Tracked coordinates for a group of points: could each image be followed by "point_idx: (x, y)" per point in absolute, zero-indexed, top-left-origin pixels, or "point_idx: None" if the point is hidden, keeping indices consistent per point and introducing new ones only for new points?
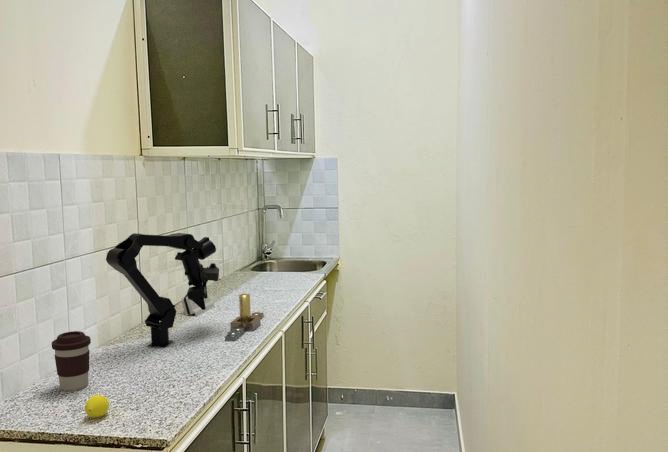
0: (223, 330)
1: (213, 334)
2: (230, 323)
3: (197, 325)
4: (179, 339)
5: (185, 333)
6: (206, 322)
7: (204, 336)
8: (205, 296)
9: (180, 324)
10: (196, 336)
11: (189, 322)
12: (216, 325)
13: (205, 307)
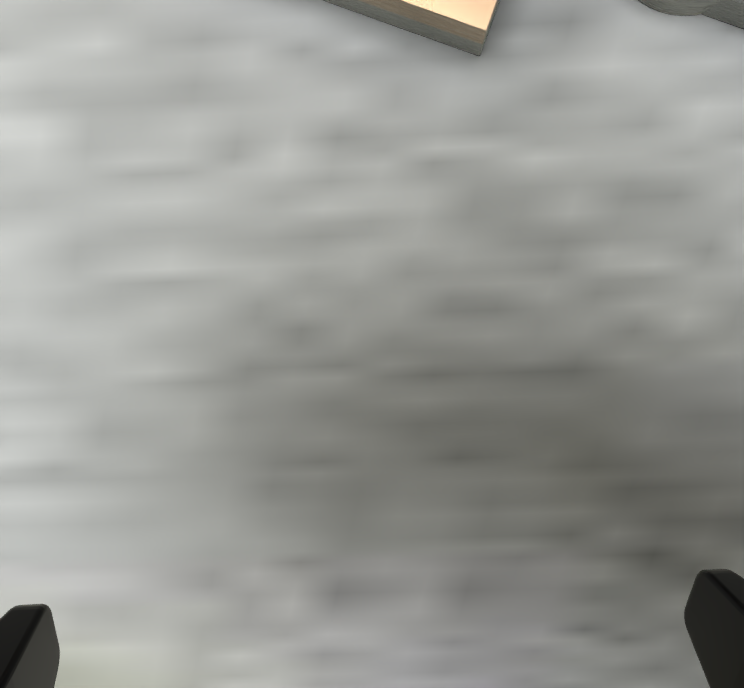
0: (444, 164)
1: (608, 295)
2: (483, 32)
3: (147, 502)
4: (706, 679)
5: (467, 623)
6: (25, 402)
7: (669, 407)
8: (38, 681)
9: (81, 680)
10: (637, 501)
11: (8, 591)
12: (180, 271)
13: (740, 592)
